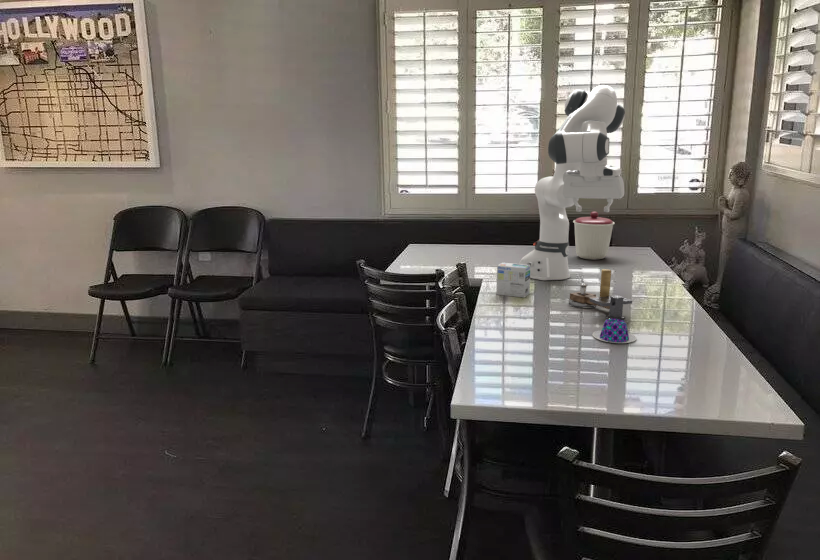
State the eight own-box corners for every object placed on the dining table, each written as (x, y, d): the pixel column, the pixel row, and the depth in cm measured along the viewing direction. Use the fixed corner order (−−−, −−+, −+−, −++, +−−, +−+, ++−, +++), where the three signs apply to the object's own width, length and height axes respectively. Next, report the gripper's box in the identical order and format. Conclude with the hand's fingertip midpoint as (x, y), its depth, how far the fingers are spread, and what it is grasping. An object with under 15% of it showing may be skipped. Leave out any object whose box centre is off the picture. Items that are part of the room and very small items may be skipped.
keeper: (588, 314, 210) (590, 293, 208) (617, 311, 214) (618, 290, 212) (604, 322, 202) (606, 300, 201) (633, 318, 206) (635, 296, 204)
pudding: (583, 337, 189) (584, 320, 187) (608, 329, 196) (609, 312, 195) (620, 348, 179) (621, 330, 178) (644, 339, 187) (646, 322, 186)
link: (569, 299, 222) (571, 264, 220) (581, 296, 226) (584, 262, 223) (612, 311, 208) (615, 274, 205) (624, 309, 211) (627, 272, 208)
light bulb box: (530, 293, 236) (531, 264, 233) (524, 298, 230) (526, 268, 227) (501, 290, 240) (502, 261, 238) (495, 294, 234) (496, 265, 232)
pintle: (564, 305, 221) (565, 284, 219) (574, 299, 228) (575, 279, 226) (590, 309, 216) (592, 288, 214) (599, 303, 223) (601, 283, 221)
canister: (579, 252, 312) (582, 207, 307) (617, 256, 302) (621, 211, 297) (564, 258, 298) (567, 212, 293) (603, 263, 288) (607, 215, 283)
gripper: (559, 171, 223) (559, 212, 226) (621, 170, 212) (620, 213, 215) (566, 169, 228) (566, 209, 231) (626, 169, 217) (625, 211, 220)
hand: (592, 211), depth 223 cm, fingers open, 8 cm apart
